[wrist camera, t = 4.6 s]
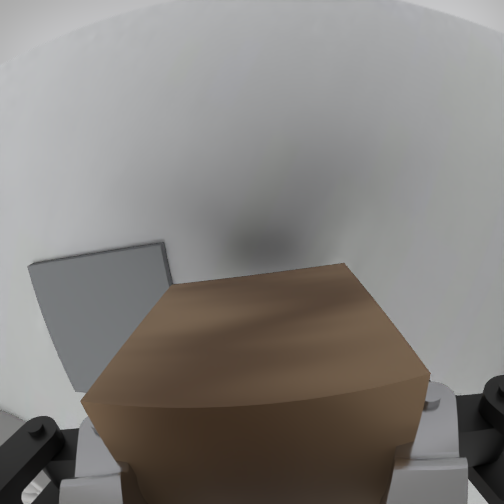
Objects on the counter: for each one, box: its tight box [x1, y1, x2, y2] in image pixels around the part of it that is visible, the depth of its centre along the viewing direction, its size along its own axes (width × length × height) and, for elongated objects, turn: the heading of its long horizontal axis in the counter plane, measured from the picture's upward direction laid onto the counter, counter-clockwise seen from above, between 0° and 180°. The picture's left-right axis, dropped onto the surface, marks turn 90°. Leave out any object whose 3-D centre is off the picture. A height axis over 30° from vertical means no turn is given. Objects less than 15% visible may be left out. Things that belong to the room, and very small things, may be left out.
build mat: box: [27, 242, 173, 393], centre depth 21 cm, size 12×12×1 cm
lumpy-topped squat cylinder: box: [0, 410, 51, 503], centre depth 23 cm, size 10×13×9 cm
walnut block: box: [81, 263, 431, 504], centre depth 8 cm, size 6×6×6 cm
